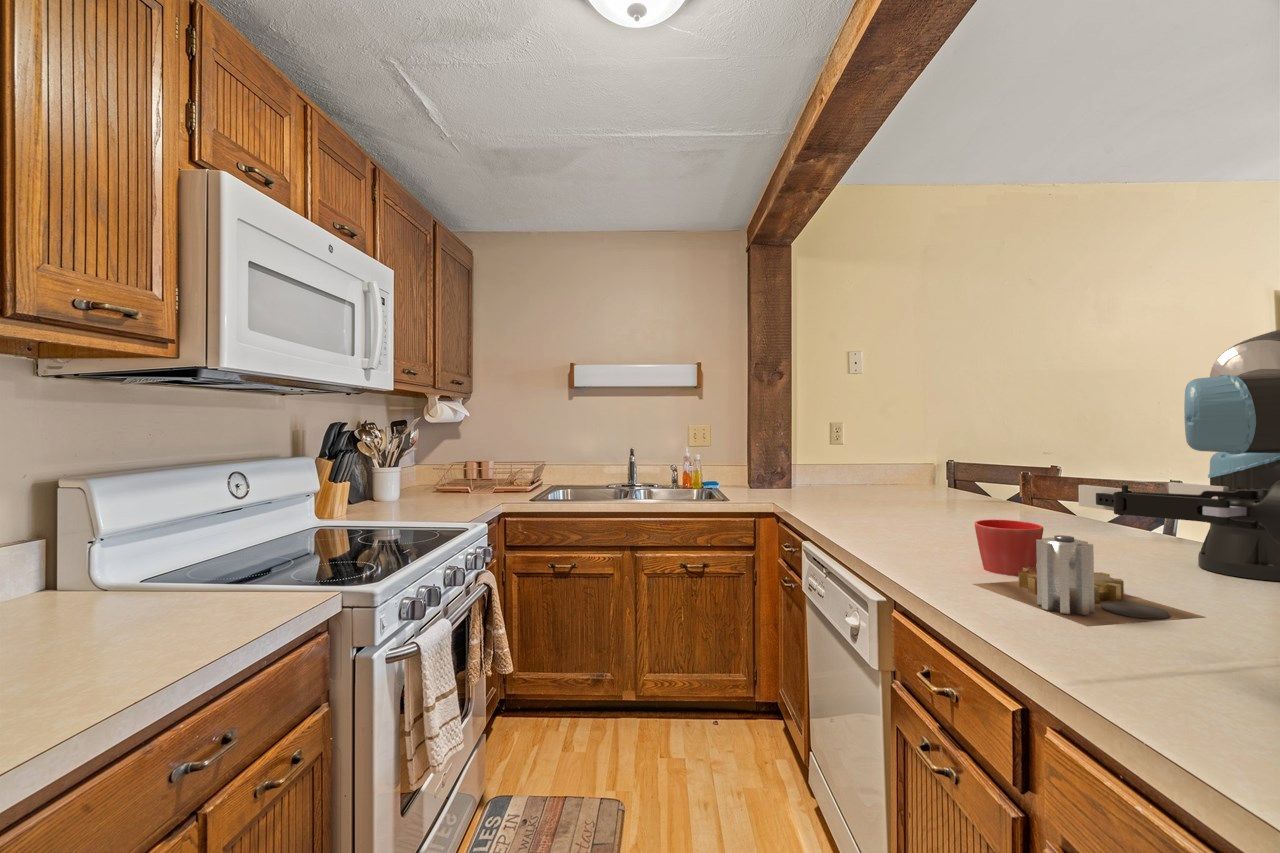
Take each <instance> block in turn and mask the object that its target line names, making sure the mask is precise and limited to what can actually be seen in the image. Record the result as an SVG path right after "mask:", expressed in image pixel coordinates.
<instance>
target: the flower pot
mask: <svg viewBox="0 0 1280 853" xmlns="http://www.w3.org/2000/svg"><path fill="white" fill-rule="evenodd" d="M974 530H975V535H976V540H977V541H976V542H977V545H978V550H979V556H980V559H981V563H982V566H983V570H985V571H987V572H989V573H994V574H997V575H1003V576H1013V577H1015V576H1016V577H1018V571H1023V567H1033V568H1037V550H1036V540H1037V539H1038V540H1042V538H1043V534H1044V526H1043V525H1041V524H1038V523H1033V522H1029V521H1028V522H1027V521H1021V520H1013V519H979V520H976V521H975V522H974Z"/></svg>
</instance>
